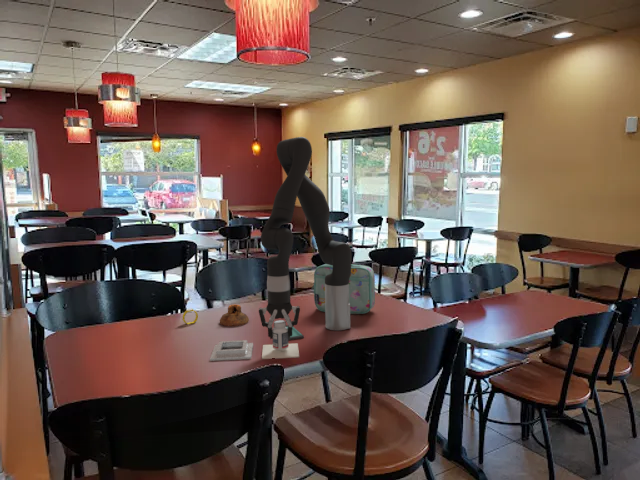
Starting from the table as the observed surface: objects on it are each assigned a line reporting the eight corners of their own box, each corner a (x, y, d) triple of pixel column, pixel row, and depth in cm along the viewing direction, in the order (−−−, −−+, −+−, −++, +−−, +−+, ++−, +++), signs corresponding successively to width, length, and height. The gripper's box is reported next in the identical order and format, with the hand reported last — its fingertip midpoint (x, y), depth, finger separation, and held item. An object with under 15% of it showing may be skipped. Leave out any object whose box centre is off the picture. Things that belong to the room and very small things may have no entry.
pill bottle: (288, 344, 165) (288, 319, 163) (288, 350, 159) (287, 324, 158) (273, 344, 164) (272, 319, 163) (272, 350, 159) (271, 324, 158)
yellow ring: (185, 326, 192) (183, 312, 191) (182, 324, 194) (180, 310, 193) (199, 322, 195) (197, 308, 194) (196, 320, 198) (194, 306, 197)
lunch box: (309, 312, 207) (308, 263, 204) (317, 306, 216) (316, 259, 213) (371, 317, 199) (371, 265, 196) (376, 310, 209) (376, 261, 206)
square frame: (253, 344, 169) (252, 338, 168) (251, 359, 156) (250, 351, 156) (215, 346, 168) (215, 339, 167) (210, 361, 155) (209, 353, 154)
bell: (252, 318, 200) (251, 301, 199) (244, 327, 189) (244, 309, 188) (224, 318, 202) (223, 301, 201) (215, 327, 190) (214, 309, 189)
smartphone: (291, 324, 189) (304, 335, 175) (291, 327, 189) (304, 338, 175) (272, 326, 186) (284, 338, 172) (272, 329, 186) (285, 341, 172)
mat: (297, 344, 168) (297, 343, 168) (299, 357, 157) (299, 356, 157) (263, 346, 167) (263, 344, 167) (261, 359, 156) (261, 357, 156)
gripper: (300, 284, 163) (301, 332, 166) (257, 286, 162) (259, 334, 165) (301, 290, 156) (302, 340, 158) (256, 291, 155) (258, 342, 157)
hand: (280, 337), depth 161 cm, fingers open, 5 cm apart
